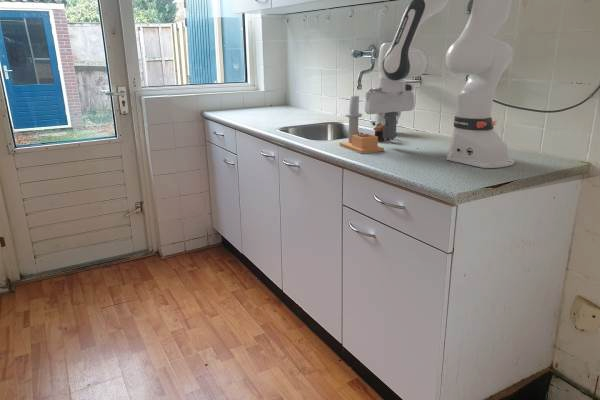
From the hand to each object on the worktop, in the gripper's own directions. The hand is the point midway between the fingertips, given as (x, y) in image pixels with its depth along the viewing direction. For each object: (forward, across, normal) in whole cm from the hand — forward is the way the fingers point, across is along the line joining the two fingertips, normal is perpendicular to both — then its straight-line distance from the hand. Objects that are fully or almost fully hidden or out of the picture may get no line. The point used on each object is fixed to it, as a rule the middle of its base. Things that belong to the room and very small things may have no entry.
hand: (389, 124), depth 170 cm
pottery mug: (+9, +6, +13) cm, 17 cm away
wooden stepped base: (+9, -10, +5) cm, 14 cm away
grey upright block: (+5, 0, 0) cm, 5 cm away
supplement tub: (+8, +17, +27) cm, 33 cm away
